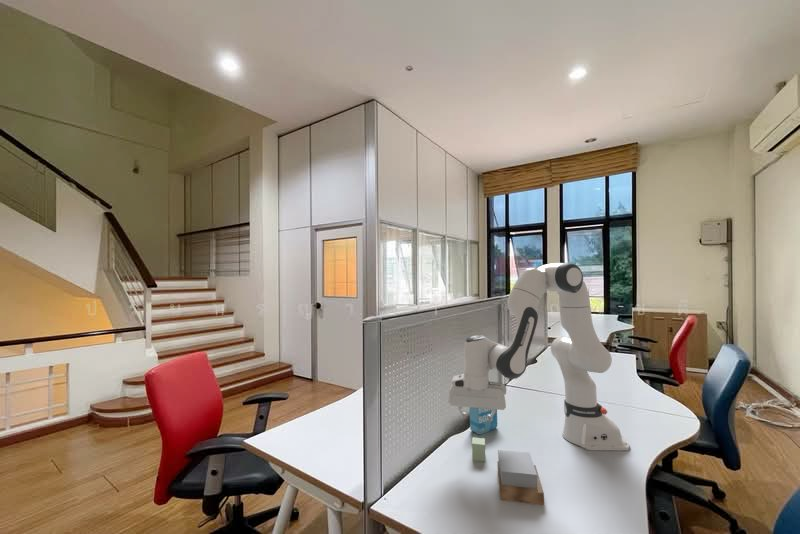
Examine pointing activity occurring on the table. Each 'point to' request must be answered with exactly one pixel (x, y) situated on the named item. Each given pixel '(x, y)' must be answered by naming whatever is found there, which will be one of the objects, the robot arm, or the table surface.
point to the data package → (482, 420)
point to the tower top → (517, 469)
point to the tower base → (521, 492)
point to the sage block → (478, 449)
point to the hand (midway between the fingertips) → (476, 419)
